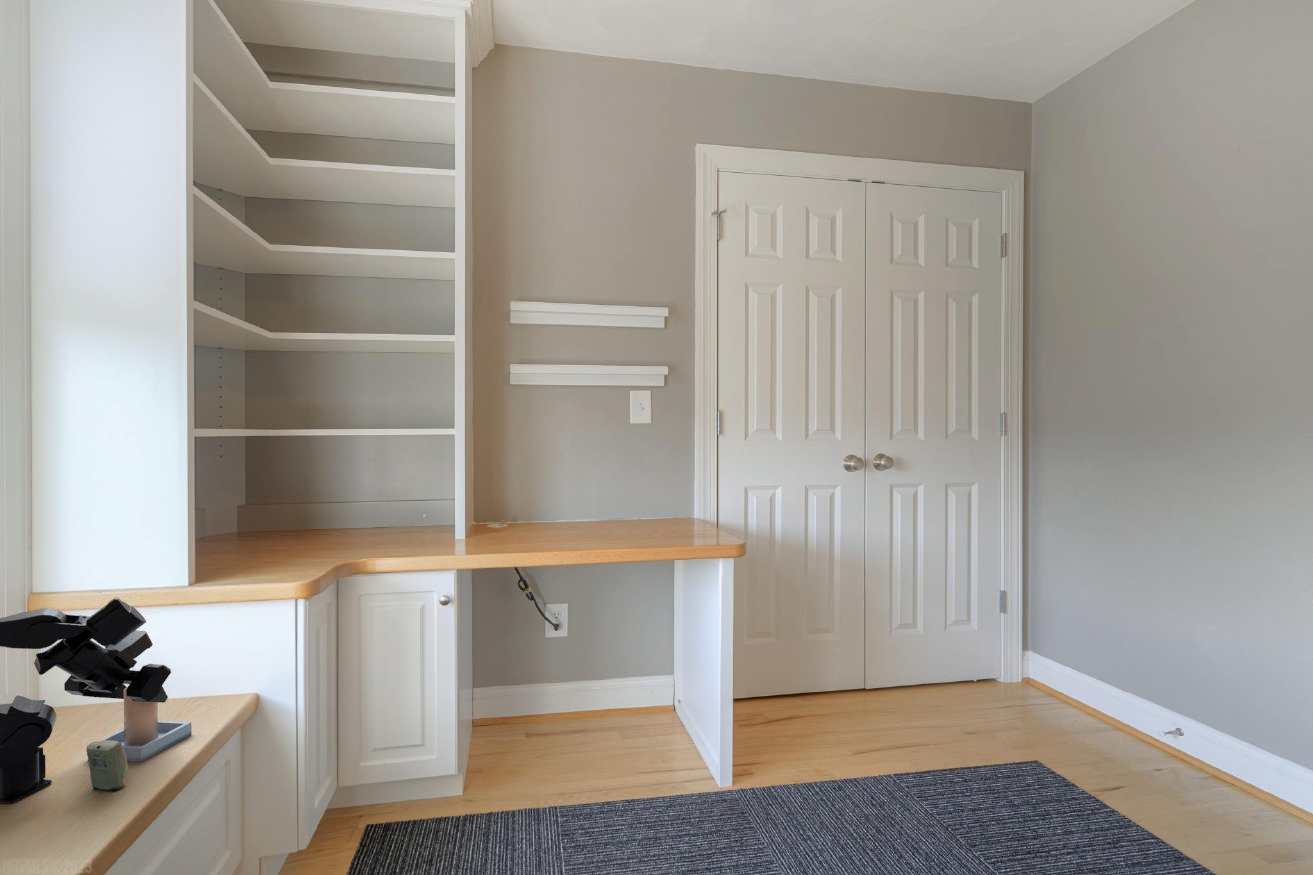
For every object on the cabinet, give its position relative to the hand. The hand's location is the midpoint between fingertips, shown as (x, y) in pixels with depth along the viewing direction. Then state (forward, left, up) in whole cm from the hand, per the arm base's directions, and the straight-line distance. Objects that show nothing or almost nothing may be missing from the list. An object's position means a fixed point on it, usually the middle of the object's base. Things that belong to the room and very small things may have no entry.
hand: (148, 698), depth 126 cm
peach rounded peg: (-2, 0, -8) cm, 8 cm away
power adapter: (-15, -7, -9) cm, 19 cm away
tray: (-1, 0, -9) cm, 9 cm away
